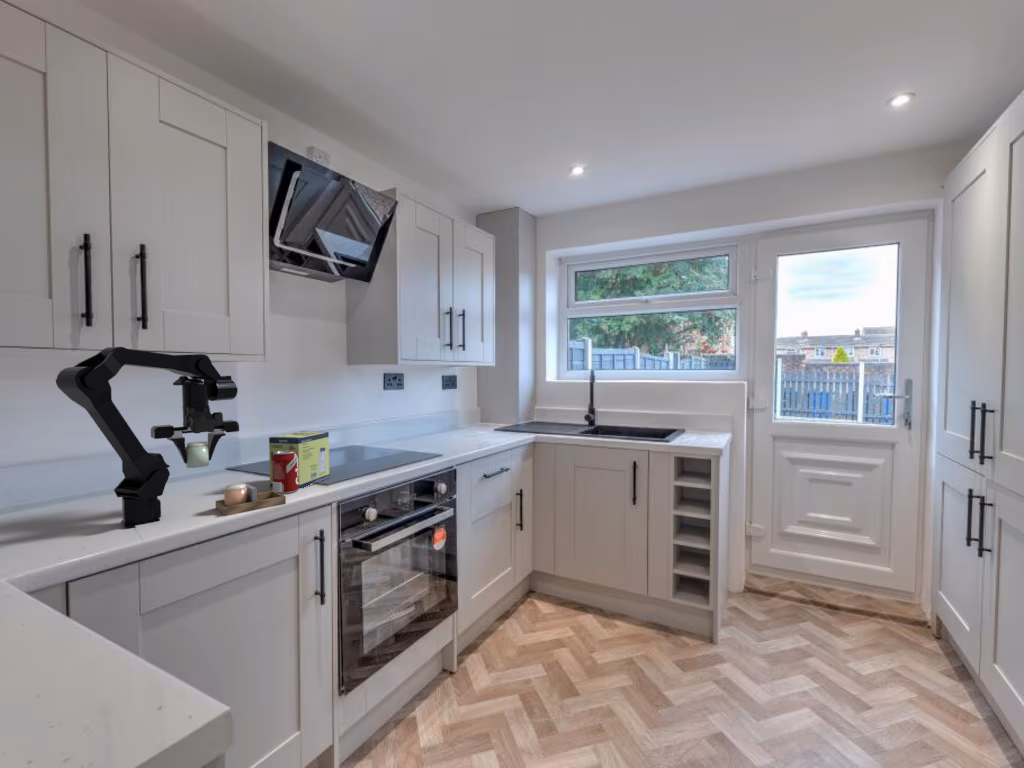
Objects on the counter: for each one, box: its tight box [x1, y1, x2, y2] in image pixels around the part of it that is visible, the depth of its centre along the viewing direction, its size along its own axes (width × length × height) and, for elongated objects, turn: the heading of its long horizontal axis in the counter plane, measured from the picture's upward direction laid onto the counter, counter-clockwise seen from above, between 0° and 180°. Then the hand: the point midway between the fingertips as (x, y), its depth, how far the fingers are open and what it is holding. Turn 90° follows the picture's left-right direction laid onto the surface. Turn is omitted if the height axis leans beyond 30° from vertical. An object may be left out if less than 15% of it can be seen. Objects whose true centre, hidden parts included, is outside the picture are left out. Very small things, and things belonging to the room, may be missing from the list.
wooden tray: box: [215, 490, 287, 517], centre depth 124 cm, size 14×9×2 cm, turn 136°
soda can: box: [272, 450, 299, 495], centre depth 139 cm, size 7×7×12 cm
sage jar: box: [185, 441, 210, 469], centre depth 126 cm, size 5×5×6 cm
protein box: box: [268, 430, 330, 490], centre depth 151 cm, size 10×16×16 cm
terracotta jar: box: [223, 483, 247, 507], centre depth 121 cm, size 5×5×6 cm
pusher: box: [245, 483, 258, 503], centre depth 124 cm, size 1×7×5 cm, turn 46°
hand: (197, 461), depth 126 cm, fingers closed on sage jar, 5 cm apart
